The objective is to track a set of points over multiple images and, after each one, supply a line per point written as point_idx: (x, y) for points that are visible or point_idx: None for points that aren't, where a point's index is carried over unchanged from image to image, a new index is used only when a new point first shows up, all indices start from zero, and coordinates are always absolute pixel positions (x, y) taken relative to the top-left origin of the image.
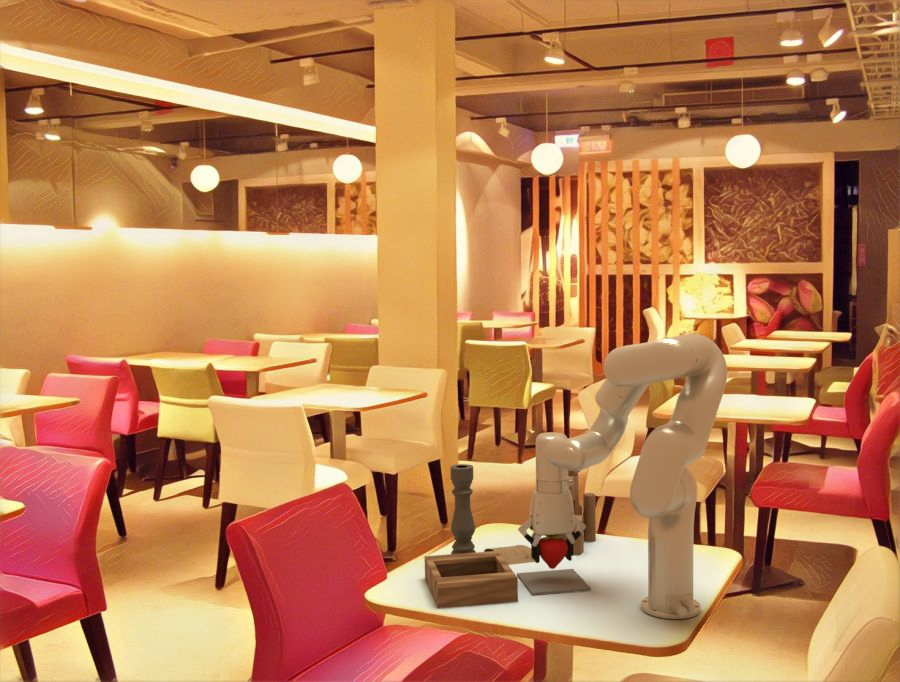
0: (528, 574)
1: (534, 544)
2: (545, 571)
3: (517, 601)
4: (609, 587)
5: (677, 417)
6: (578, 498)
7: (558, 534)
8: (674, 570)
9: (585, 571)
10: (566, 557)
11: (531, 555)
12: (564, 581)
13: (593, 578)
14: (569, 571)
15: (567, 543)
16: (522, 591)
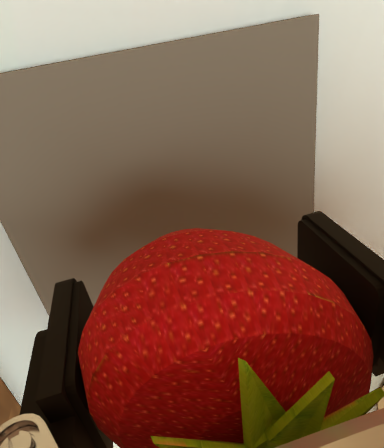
0: (26, 117)
1: None
2: (142, 59)
3: (19, 407)
4: (378, 247)
5: None
6: None
7: (368, 407)
8: None
9: (373, 25)
10: (300, 253)
11: (38, 339)
12: (227, 228)
13: (366, 145)
14: (286, 70)
15: (374, 342)
16: (24, 318)
